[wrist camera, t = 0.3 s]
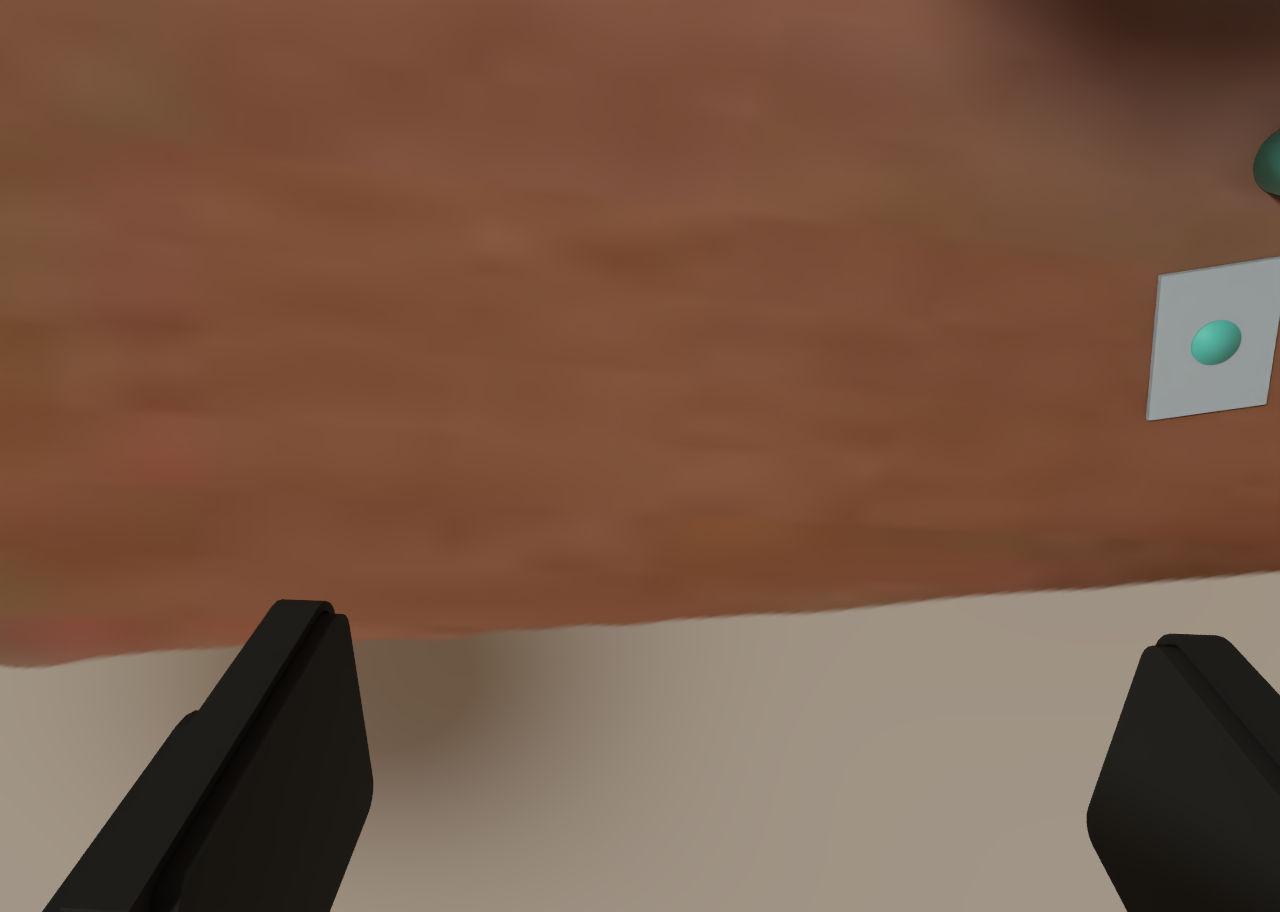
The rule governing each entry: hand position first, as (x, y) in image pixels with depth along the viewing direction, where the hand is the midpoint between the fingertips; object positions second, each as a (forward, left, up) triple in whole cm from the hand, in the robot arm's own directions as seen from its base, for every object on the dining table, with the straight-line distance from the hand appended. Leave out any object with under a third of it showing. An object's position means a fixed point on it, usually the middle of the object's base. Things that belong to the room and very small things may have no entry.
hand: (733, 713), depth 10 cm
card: (+7, +28, -36) cm, 46 cm away
